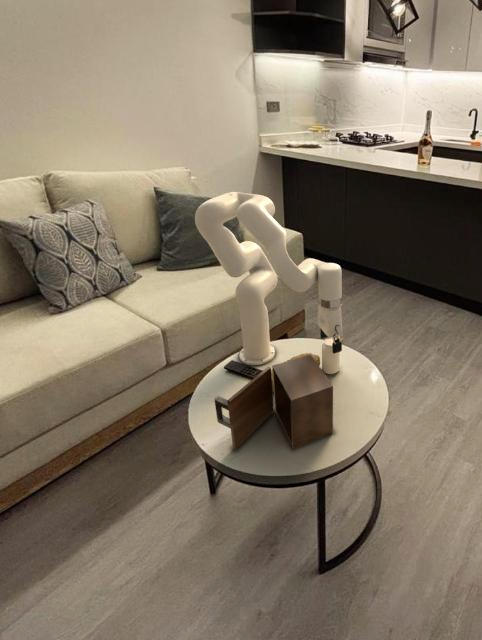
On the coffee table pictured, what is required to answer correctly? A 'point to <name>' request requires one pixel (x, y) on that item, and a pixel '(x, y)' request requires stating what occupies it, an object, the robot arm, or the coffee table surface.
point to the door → (247, 407)
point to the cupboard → (303, 400)
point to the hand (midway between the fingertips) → (330, 344)
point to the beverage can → (329, 357)
